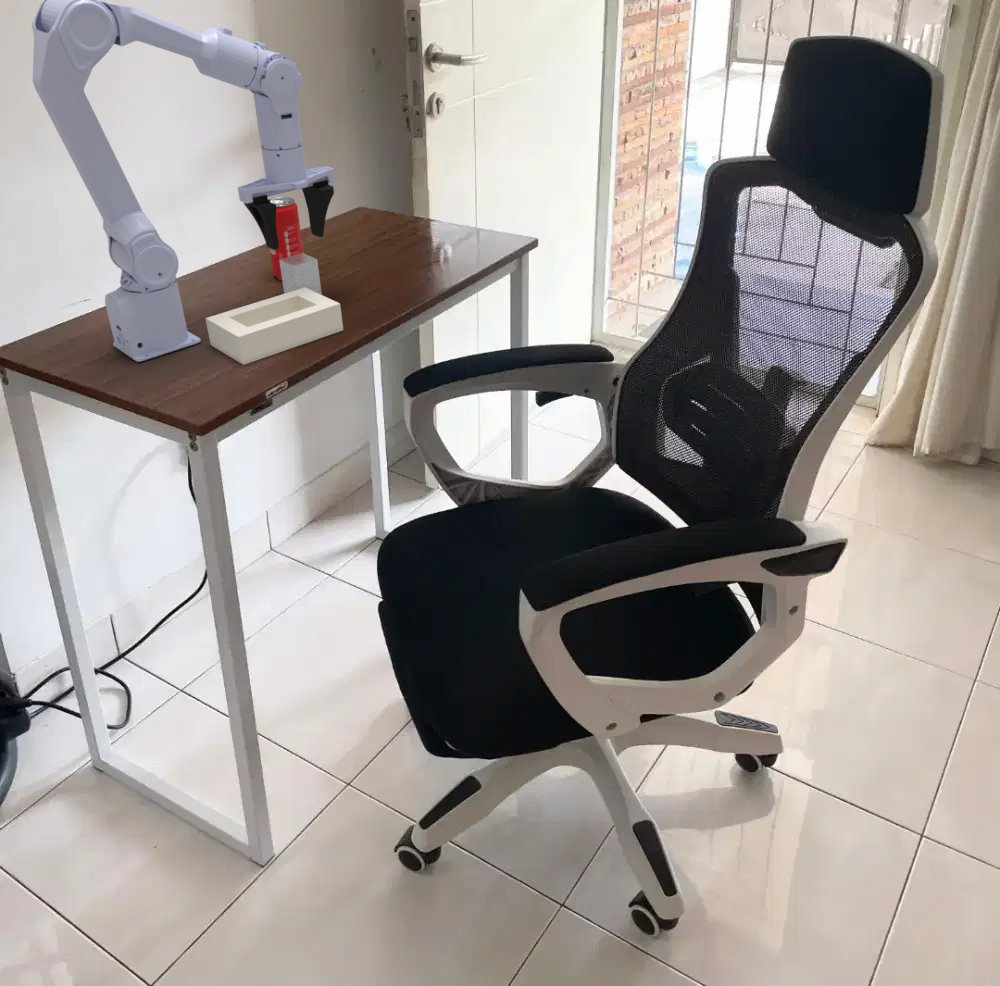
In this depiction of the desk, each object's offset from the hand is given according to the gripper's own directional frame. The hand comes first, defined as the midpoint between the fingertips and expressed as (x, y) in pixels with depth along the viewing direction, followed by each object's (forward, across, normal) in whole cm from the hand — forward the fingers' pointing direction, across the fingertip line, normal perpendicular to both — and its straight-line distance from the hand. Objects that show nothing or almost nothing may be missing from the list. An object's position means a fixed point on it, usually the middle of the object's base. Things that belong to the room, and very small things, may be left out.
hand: (295, 241), depth 146 cm
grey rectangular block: (+10, 0, 0) cm, 10 cm away
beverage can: (+10, +5, +12) cm, 16 cm away
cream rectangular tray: (+10, -10, -8) cm, 16 cm away
